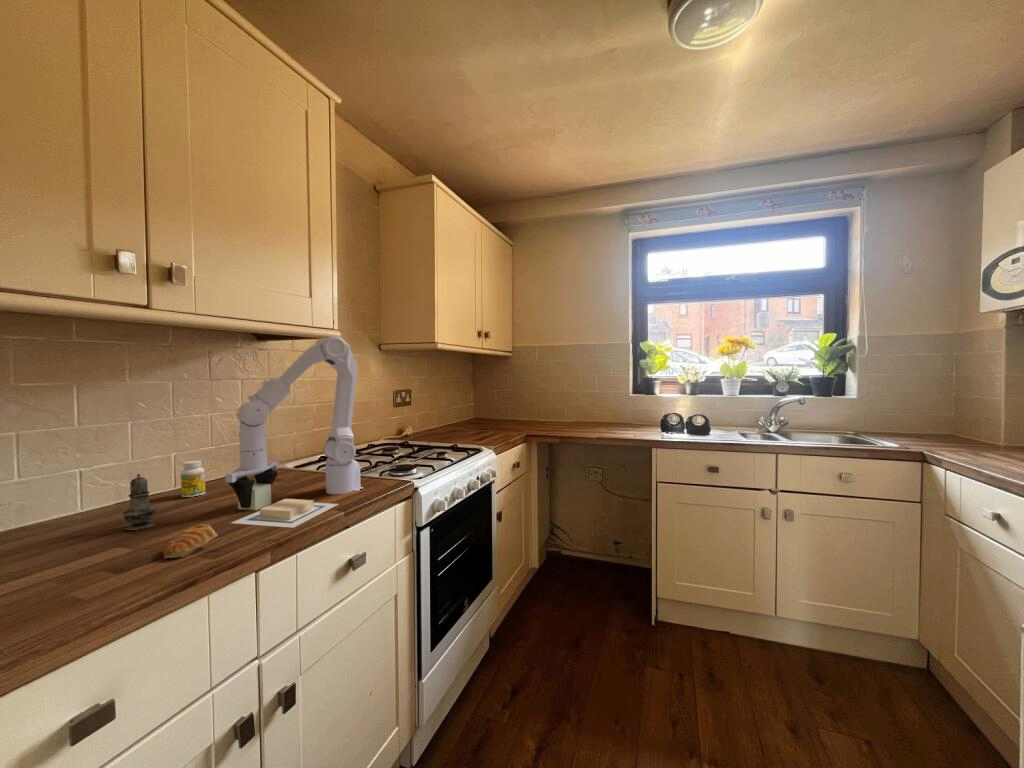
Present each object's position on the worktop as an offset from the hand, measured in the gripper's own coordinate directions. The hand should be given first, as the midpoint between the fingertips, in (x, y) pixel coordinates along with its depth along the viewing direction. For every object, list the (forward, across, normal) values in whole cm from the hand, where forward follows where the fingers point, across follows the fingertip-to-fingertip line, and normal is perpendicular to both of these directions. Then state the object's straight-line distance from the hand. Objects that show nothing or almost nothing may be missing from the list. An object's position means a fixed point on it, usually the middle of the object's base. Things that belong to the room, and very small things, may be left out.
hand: (254, 503), depth 103 cm
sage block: (+2, 0, 0) cm, 2 cm away
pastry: (+2, +22, +6) cm, 22 cm away
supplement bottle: (+2, -8, -28) cm, 29 cm away
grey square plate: (+2, +3, +12) cm, 12 cm away
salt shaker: (+2, +14, -17) cm, 22 cm away
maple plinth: (+1, +3, +12) cm, 12 cm away
